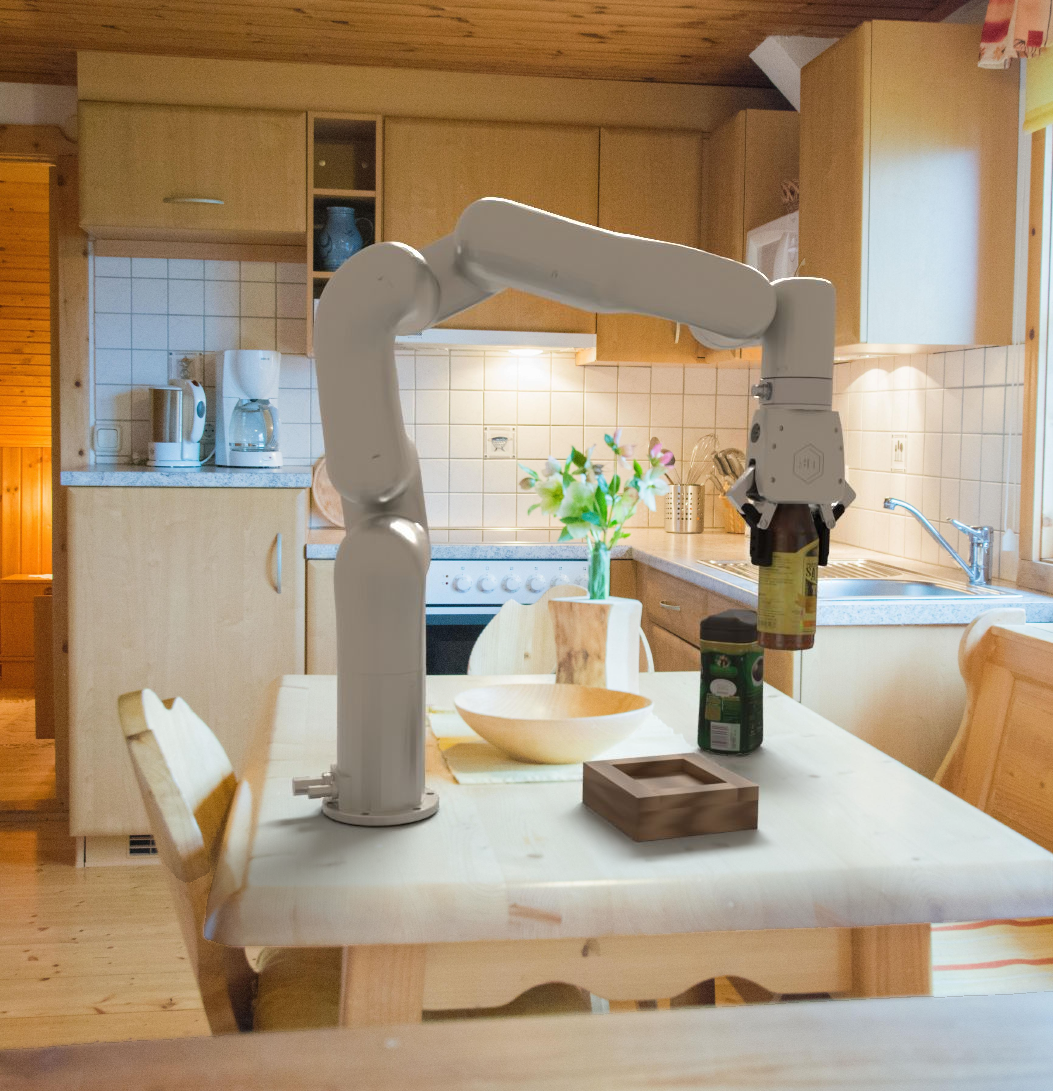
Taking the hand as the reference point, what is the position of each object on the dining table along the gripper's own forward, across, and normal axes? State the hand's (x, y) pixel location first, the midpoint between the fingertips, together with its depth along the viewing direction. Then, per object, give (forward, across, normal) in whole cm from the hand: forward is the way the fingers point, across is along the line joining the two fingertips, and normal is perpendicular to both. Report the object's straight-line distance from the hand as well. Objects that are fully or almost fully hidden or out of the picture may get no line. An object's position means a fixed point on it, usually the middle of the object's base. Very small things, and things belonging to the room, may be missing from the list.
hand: (789, 563), depth 122 cm
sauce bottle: (+9, 0, 0) cm, 9 cm away
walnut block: (+27, -12, +3) cm, 30 cm away
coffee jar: (+28, +9, +26) cm, 39 cm away
